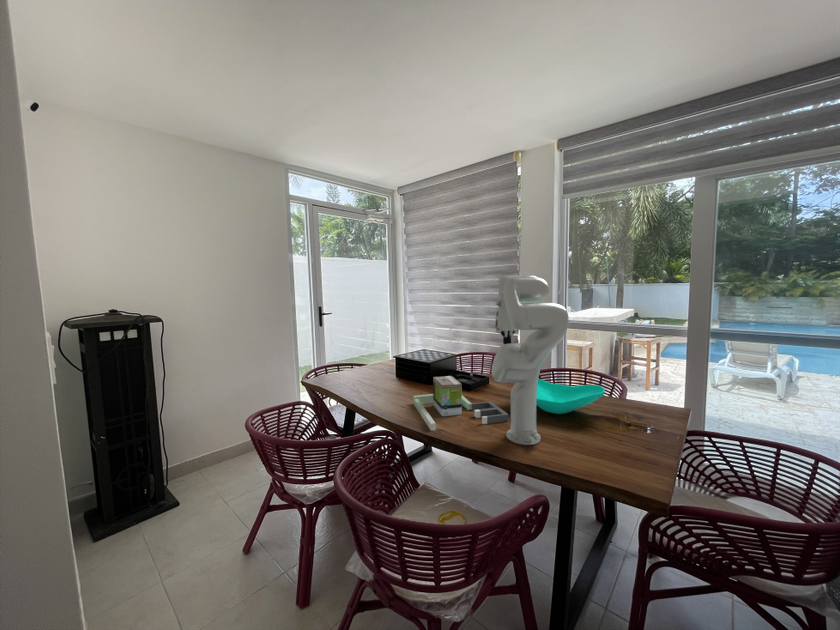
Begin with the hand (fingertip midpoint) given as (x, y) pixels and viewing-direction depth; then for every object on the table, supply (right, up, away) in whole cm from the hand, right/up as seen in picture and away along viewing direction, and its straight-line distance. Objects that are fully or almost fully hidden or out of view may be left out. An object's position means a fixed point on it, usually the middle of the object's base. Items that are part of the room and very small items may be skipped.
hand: (507, 345), depth 149 cm
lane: (-26, -32, +7) cm, 42 cm away
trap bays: (-7, -32, +4) cm, 33 cm away
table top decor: (+24, -31, +7) cm, 40 cm away
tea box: (-26, -32, +11) cm, 43 cm away
